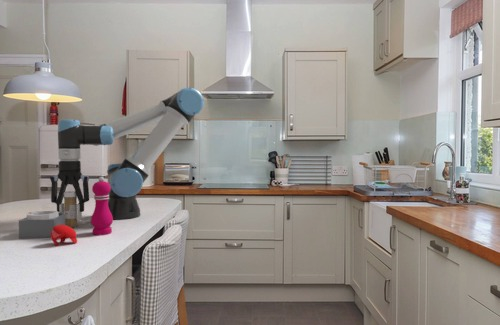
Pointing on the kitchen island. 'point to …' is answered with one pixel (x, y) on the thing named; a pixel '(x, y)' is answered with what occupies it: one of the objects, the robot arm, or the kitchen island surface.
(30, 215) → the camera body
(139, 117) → the robot arm
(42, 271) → the kitchen island surface
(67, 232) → the red animal figurine
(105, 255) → the kitchen island surface
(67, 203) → the sprinkles bottle
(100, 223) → the pepper mill
